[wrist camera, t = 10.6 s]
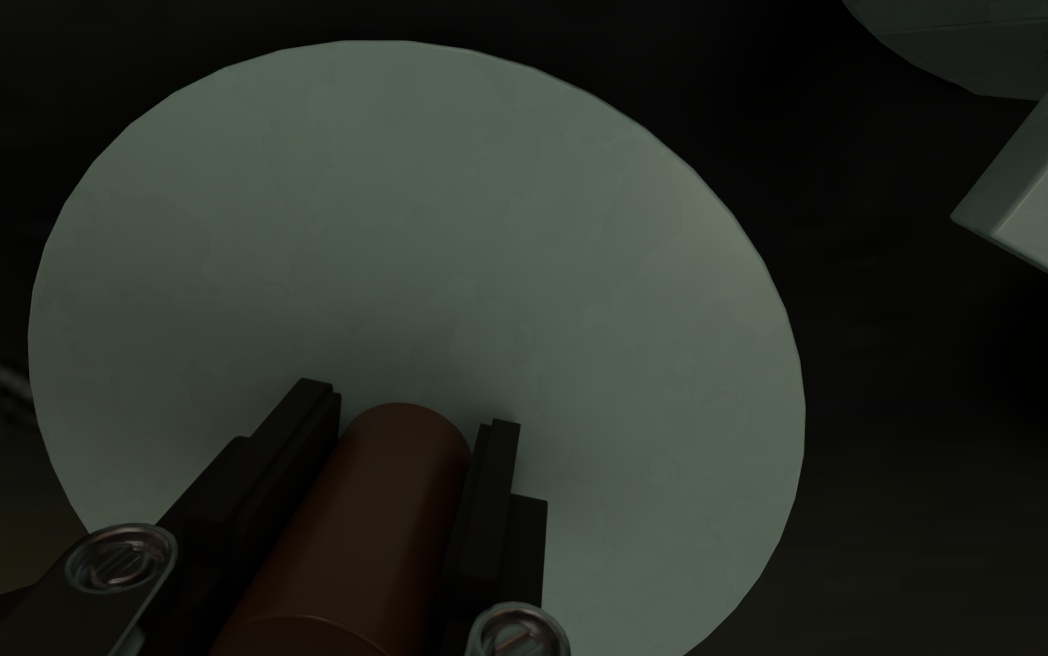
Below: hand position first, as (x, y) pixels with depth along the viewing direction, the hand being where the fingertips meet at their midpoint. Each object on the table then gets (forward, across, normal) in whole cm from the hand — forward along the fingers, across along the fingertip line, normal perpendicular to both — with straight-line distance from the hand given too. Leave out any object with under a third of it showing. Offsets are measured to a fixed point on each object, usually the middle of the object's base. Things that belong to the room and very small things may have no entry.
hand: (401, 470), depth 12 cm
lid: (+1, 0, 0) cm, 1 cm away
